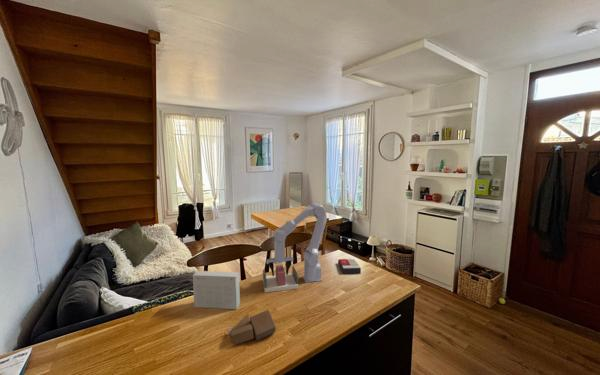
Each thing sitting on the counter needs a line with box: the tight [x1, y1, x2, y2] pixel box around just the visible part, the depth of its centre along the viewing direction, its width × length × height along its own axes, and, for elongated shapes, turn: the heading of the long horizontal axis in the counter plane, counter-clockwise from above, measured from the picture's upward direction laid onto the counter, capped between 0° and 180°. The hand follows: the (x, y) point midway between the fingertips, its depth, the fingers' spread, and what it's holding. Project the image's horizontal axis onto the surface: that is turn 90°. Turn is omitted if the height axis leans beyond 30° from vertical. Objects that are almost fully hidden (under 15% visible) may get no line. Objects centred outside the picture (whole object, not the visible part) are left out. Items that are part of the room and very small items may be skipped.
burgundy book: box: [274, 264, 286, 286], centre depth 136 cm, size 4×10×7 cm, turn 13°
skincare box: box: [192, 270, 241, 310], centre depth 117 cm, size 21×6×16 cm, turn 84°
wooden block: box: [227, 309, 277, 346], centre depth 100 cm, size 8×13×18 cm
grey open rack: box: [262, 266, 300, 293], centre depth 137 cm, size 18×14×6 cm
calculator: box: [337, 258, 362, 275], centre depth 156 cm, size 11×4×15 cm
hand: (280, 274), depth 137 cm, fingers open, 7 cm apart
